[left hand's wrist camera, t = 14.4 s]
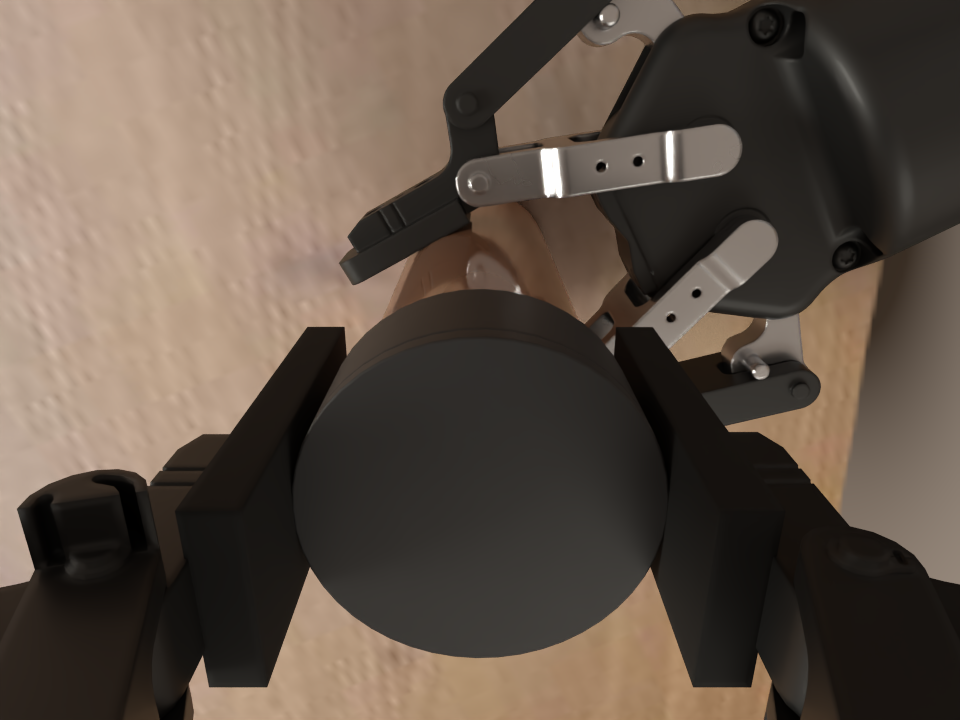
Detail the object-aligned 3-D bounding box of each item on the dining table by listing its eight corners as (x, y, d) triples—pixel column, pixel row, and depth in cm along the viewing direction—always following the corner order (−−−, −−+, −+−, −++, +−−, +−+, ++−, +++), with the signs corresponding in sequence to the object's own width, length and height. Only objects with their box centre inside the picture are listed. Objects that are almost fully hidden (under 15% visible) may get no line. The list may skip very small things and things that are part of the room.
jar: (392, 223, 25) (265, 419, 10) (515, 168, 24) (572, 294, 9) (447, 338, 27) (406, 651, 12) (564, 290, 26) (677, 559, 11)
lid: (315, 543, 13) (281, 637, 11) (338, 263, 11) (302, 307, 9) (597, 580, 14) (620, 677, 11) (670, 314, 11) (716, 369, 9)
